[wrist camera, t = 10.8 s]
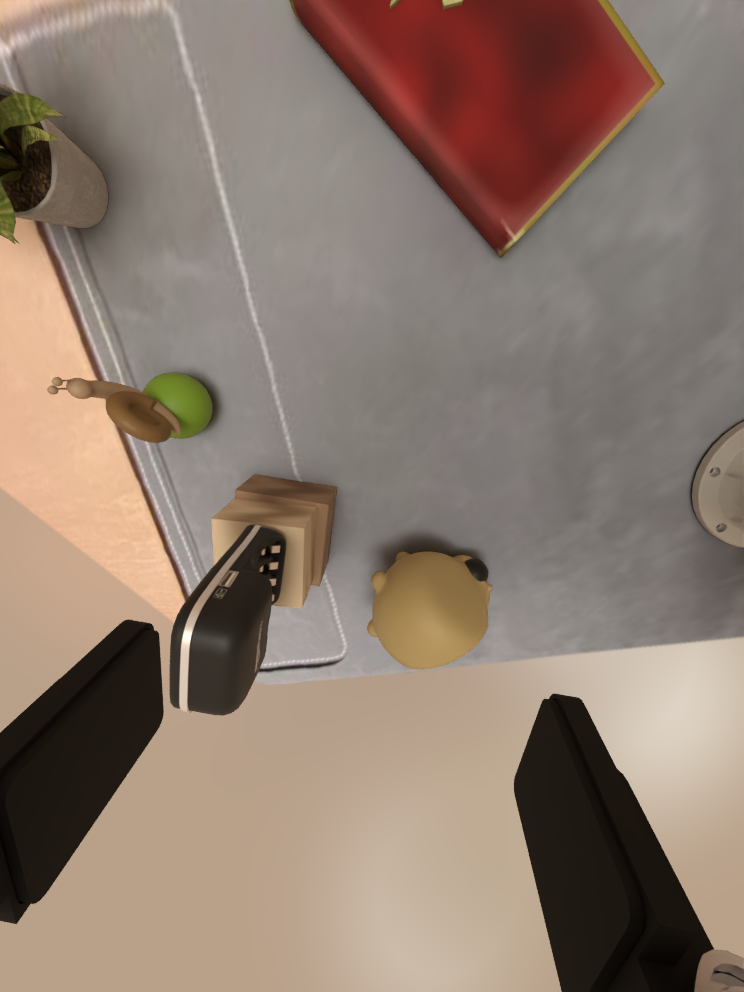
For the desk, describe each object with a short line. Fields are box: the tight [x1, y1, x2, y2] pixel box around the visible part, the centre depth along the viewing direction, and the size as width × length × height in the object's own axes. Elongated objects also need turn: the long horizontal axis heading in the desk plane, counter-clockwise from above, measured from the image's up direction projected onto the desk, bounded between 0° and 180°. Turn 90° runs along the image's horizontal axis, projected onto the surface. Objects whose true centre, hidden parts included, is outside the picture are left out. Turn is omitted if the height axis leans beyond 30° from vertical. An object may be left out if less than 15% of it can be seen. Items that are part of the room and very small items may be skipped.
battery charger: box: [170, 525, 286, 715], centre depth 25 cm, size 7×4×11 cm, turn 169°
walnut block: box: [235, 475, 337, 586], centre depth 37 cm, size 8×8×5 cm
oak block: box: [212, 498, 316, 608], centre depth 33 cm, size 7×7×4 cm
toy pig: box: [367, 552, 492, 669], centre depth 36 cm, size 10×12×11 cm
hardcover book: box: [290, 0, 665, 257], centre depth 26 cm, size 12×21×4 cm, turn 46°
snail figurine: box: [47, 373, 212, 443], centre depth 31 cm, size 5×6×12 cm
